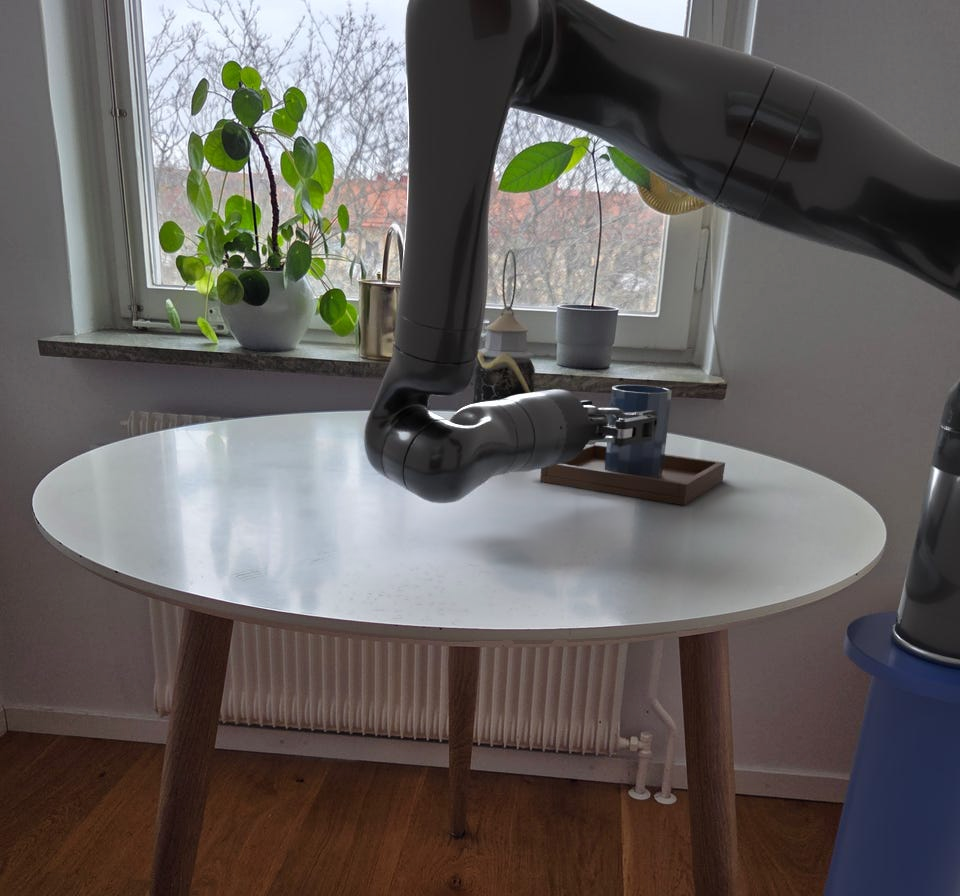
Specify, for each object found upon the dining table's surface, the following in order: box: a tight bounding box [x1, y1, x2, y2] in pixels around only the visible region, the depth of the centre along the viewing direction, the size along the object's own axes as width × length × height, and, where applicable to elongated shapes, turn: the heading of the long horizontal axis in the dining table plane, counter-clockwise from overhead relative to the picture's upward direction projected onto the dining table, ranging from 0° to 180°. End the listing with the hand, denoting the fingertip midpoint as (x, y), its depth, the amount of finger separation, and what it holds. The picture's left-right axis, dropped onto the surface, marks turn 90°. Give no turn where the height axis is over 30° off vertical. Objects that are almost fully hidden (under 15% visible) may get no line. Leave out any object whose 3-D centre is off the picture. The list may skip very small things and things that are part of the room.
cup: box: [605, 384, 673, 479], centre depth 110 cm, size 7×7×10 cm
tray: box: [539, 443, 726, 506], centre depth 111 cm, size 18×15×2 cm
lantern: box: [472, 249, 536, 404], centre depth 115 cm, size 9×8×25 cm
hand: (620, 414), depth 106 cm, fingers open, 8 cm apart
